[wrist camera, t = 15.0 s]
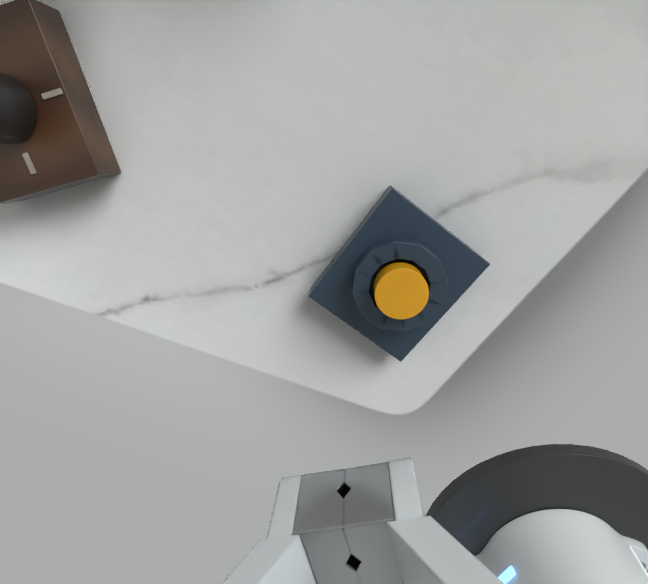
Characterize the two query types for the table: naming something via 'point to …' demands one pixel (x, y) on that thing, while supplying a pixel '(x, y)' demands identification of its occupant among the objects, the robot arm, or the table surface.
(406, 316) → the trigger button
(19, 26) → the dial panel
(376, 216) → the button housing
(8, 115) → the dial
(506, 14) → the table surface
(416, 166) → the table surface
